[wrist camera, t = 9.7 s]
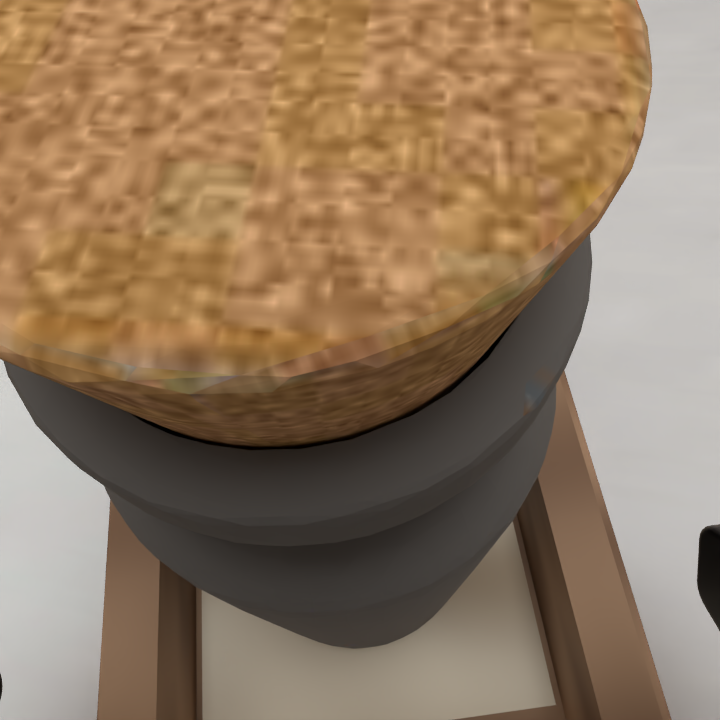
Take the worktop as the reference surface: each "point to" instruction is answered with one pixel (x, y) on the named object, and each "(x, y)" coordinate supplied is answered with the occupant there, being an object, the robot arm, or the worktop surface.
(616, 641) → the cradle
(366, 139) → the bottle
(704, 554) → the robot arm
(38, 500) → the worktop surface
